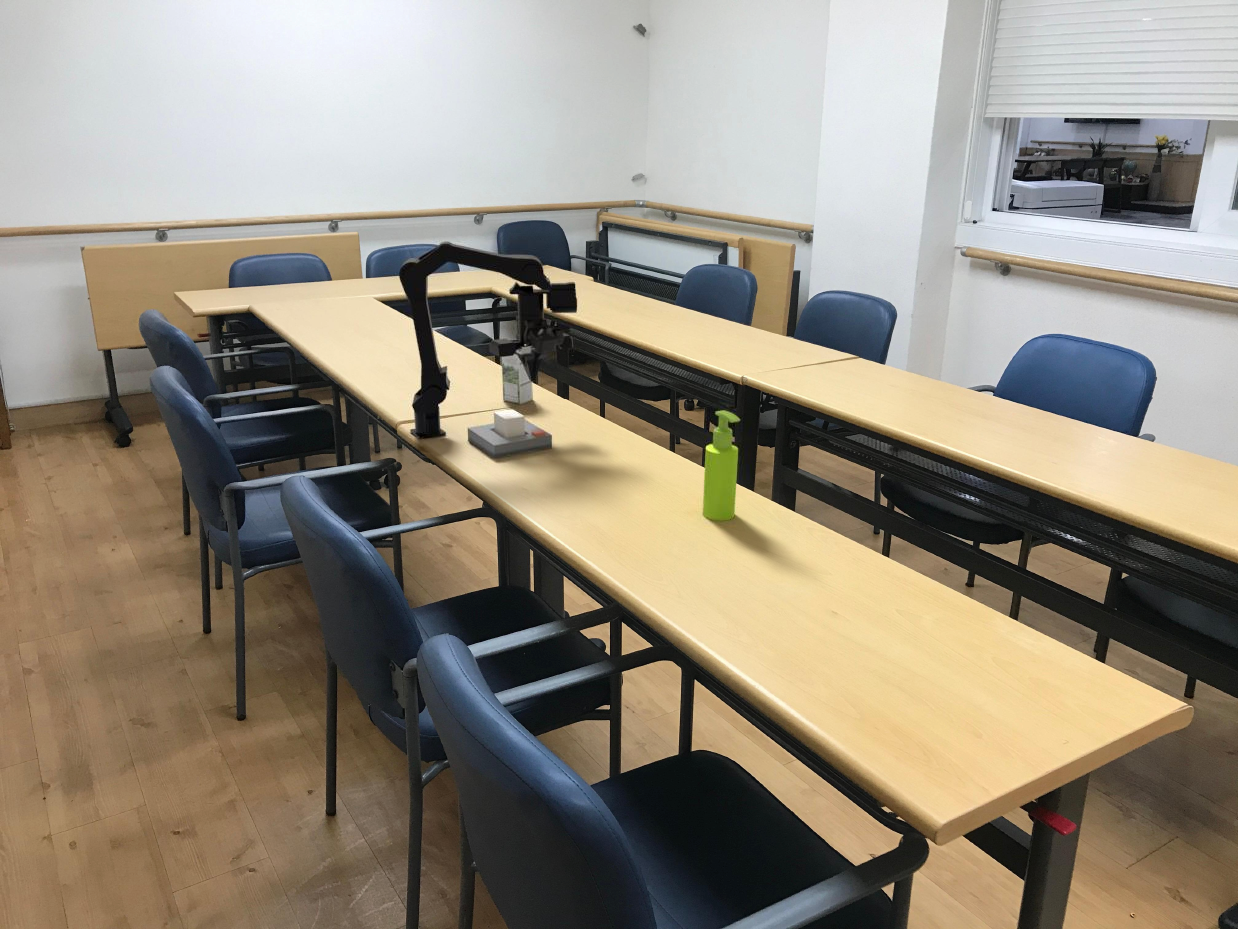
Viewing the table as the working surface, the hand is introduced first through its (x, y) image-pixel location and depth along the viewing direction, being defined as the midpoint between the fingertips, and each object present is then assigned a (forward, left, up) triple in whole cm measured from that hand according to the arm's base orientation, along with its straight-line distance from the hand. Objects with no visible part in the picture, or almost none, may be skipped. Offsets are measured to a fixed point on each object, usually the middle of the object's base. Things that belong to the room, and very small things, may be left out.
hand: (532, 380), depth 218 cm
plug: (+6, -9, -11) cm, 15 cm away
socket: (+6, -9, -12) cm, 16 cm away
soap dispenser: (+62, +7, -12) cm, 64 cm away
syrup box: (-24, +8, -12) cm, 28 cm away
